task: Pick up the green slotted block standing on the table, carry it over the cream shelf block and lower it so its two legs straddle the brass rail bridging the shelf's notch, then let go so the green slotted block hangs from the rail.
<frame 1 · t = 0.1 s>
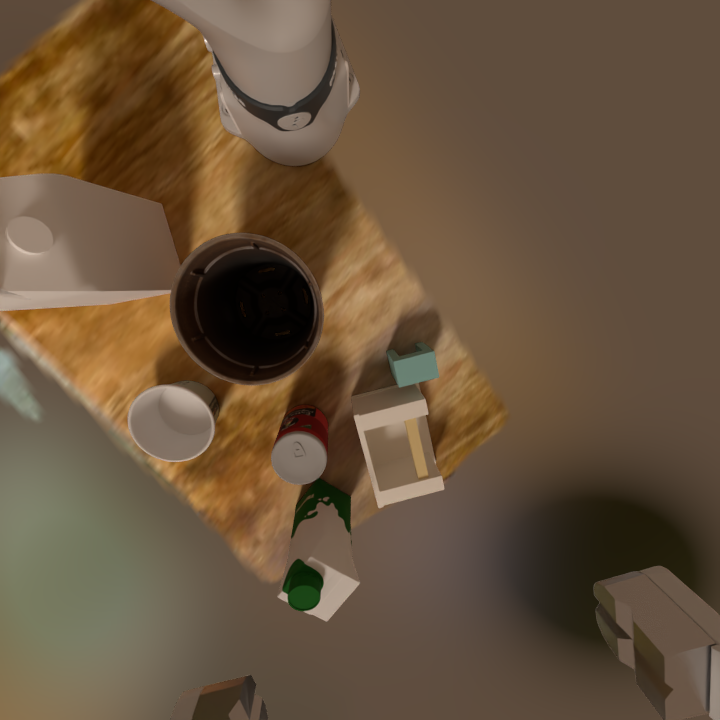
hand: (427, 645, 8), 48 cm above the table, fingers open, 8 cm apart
canned food: (305, 424, 58), on the table
plant pot: (273, 300, 53), on the table
shelf: (406, 427, 59), on the table
milk carton: (323, 500, 62), on the table
green slotted block: (406, 357, 56), on the table
food container: (190, 407, 56), on the table
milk: (136, 255, 50), on the table
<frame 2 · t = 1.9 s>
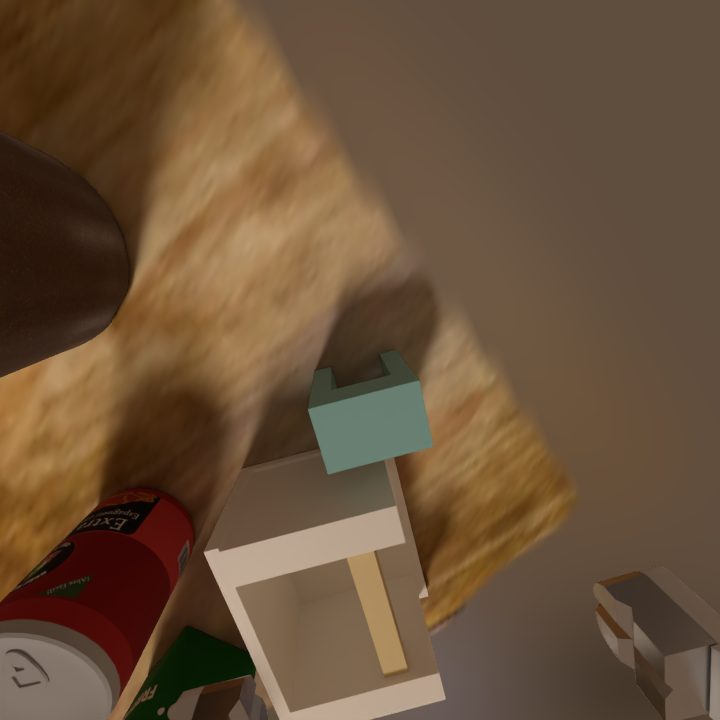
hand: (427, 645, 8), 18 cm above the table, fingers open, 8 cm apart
canned food: (148, 527, 27), on the table
plant pot: (29, 252, 22), on the table
shelf: (367, 527, 28), on the table
milk carton: (204, 664, 31), on the table
green slotted block: (361, 385, 25), on the table
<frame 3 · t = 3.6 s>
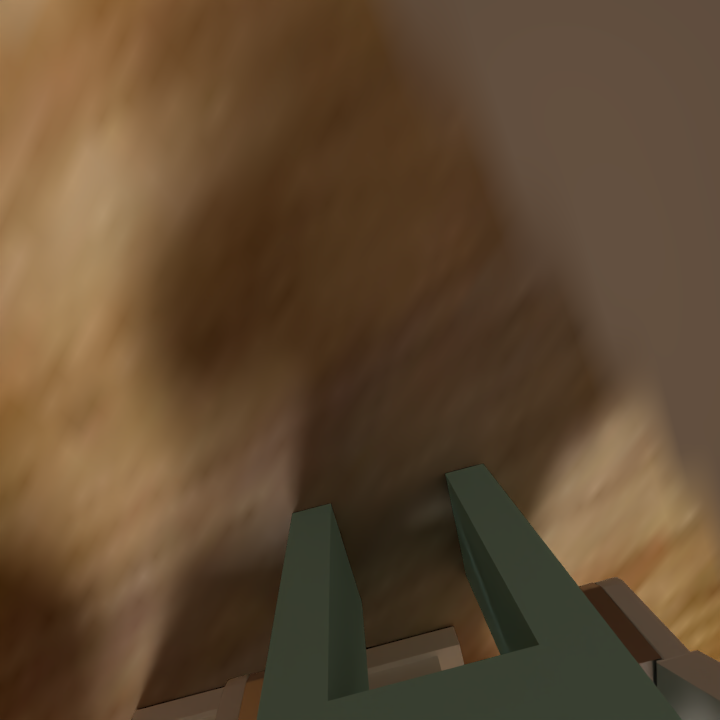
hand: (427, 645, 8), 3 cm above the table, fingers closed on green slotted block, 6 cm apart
green slotted block: (401, 541, 11), on the table, touching gripper
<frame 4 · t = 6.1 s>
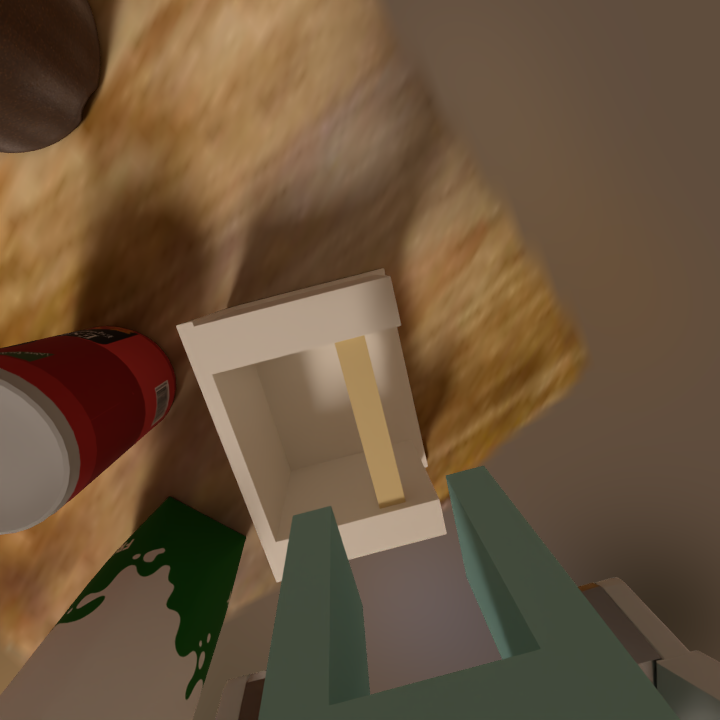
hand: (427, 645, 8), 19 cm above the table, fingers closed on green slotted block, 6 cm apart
canned food: (126, 377, 25), on the table
shelf: (361, 384, 26), on the table
milk carton: (188, 544, 29), on the table
green slotted block: (402, 543, 11), point 16 cm above the table, touching gripper
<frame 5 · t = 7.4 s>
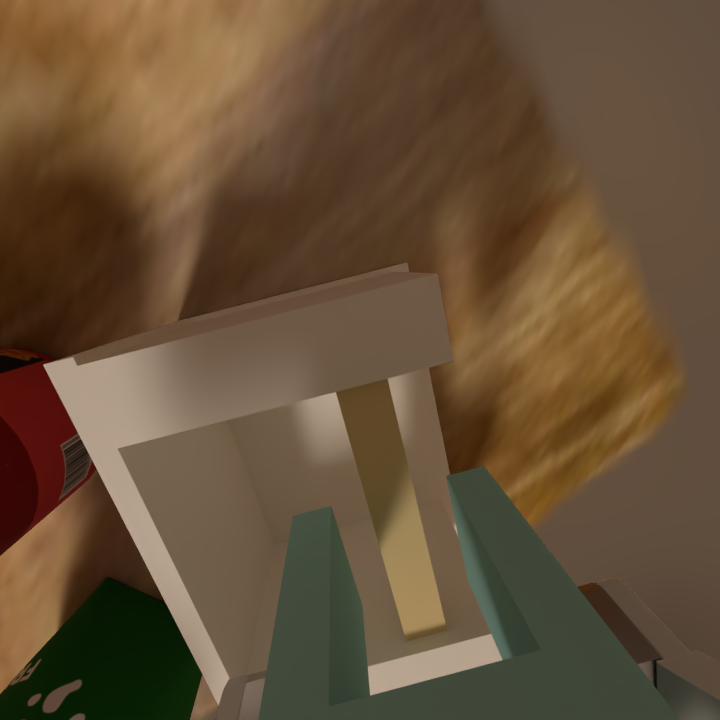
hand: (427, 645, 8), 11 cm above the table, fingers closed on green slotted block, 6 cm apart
canned food: (38, 418, 18), on the table
shelf: (373, 426, 19), on the table
milk carton: (138, 636, 22), on the table
green slotted block: (402, 543, 11), point 8 cm above the table, touching gripper
when the fingers open (8 cm above the table, at t = 8.6 s): green slotted block drops 2 cm, resting on shelf.
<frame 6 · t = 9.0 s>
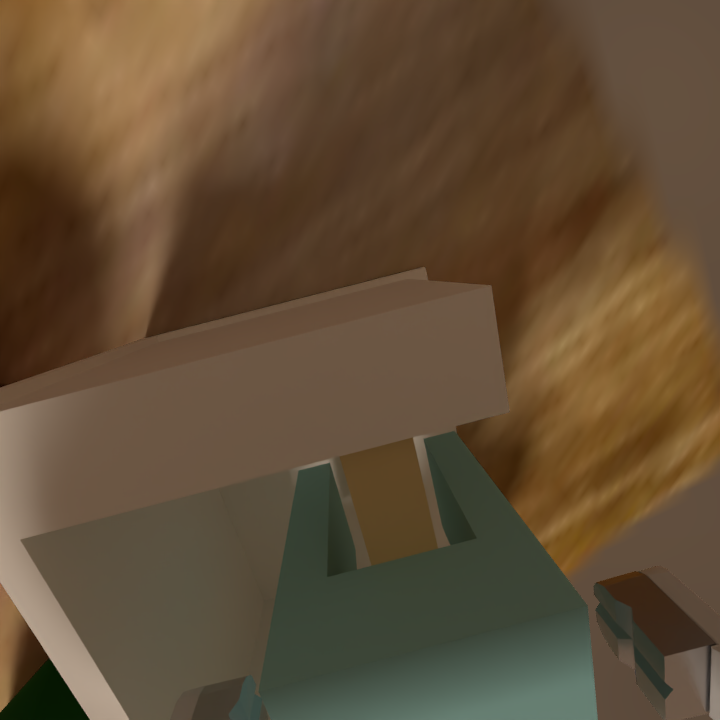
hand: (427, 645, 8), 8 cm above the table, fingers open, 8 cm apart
shelf: (381, 461, 16), on the table
milk carton: (105, 704, 18), on the table
green slotted block: (388, 495, 13), point 2 cm above the table, touching shelf
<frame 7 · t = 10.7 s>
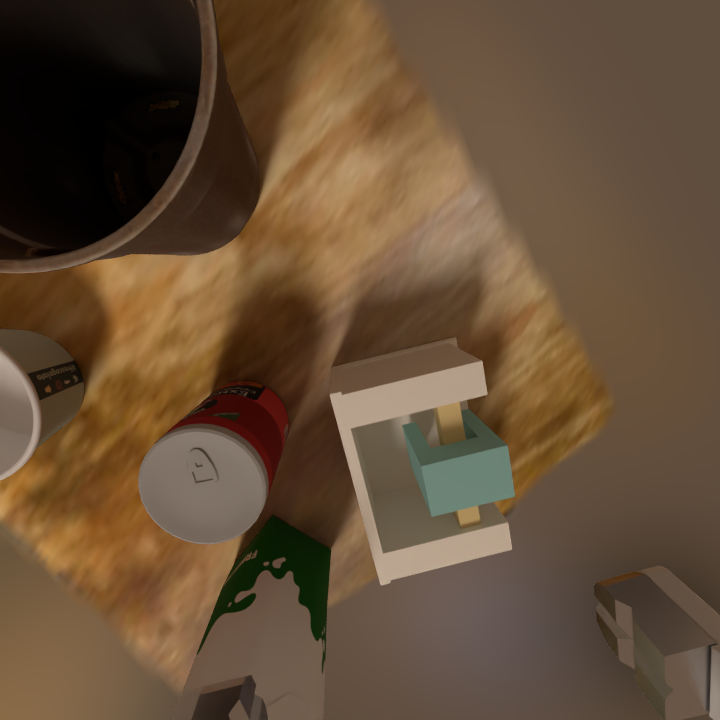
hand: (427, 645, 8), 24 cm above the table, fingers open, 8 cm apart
canned food: (248, 419, 32), on the table
plant pot: (181, 173, 27), on the table
shelf: (432, 426, 33), on the table
milk carton: (283, 555, 35), on the table
green slotted block: (439, 437, 30), point 2 cm above the table, touching shelf
food container: (29, 381, 30), on the table
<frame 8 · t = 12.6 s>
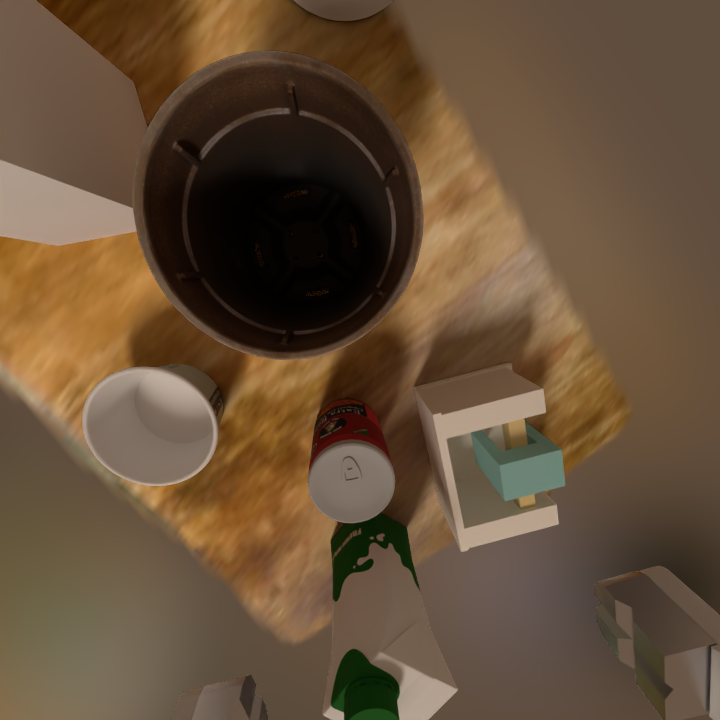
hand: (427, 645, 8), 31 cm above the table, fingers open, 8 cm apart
canned food: (347, 428, 41), on the table
plant pot: (305, 243, 35), on the table
shelf: (489, 431, 42), on the table
milk carton: (369, 533, 44), on the table
green slotted block: (498, 440, 39), point 2 cm above the table, touching shelf
food container: (181, 402, 38), on the table
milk: (95, 168, 32), on the table
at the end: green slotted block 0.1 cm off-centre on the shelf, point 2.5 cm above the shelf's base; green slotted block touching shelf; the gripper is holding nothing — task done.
